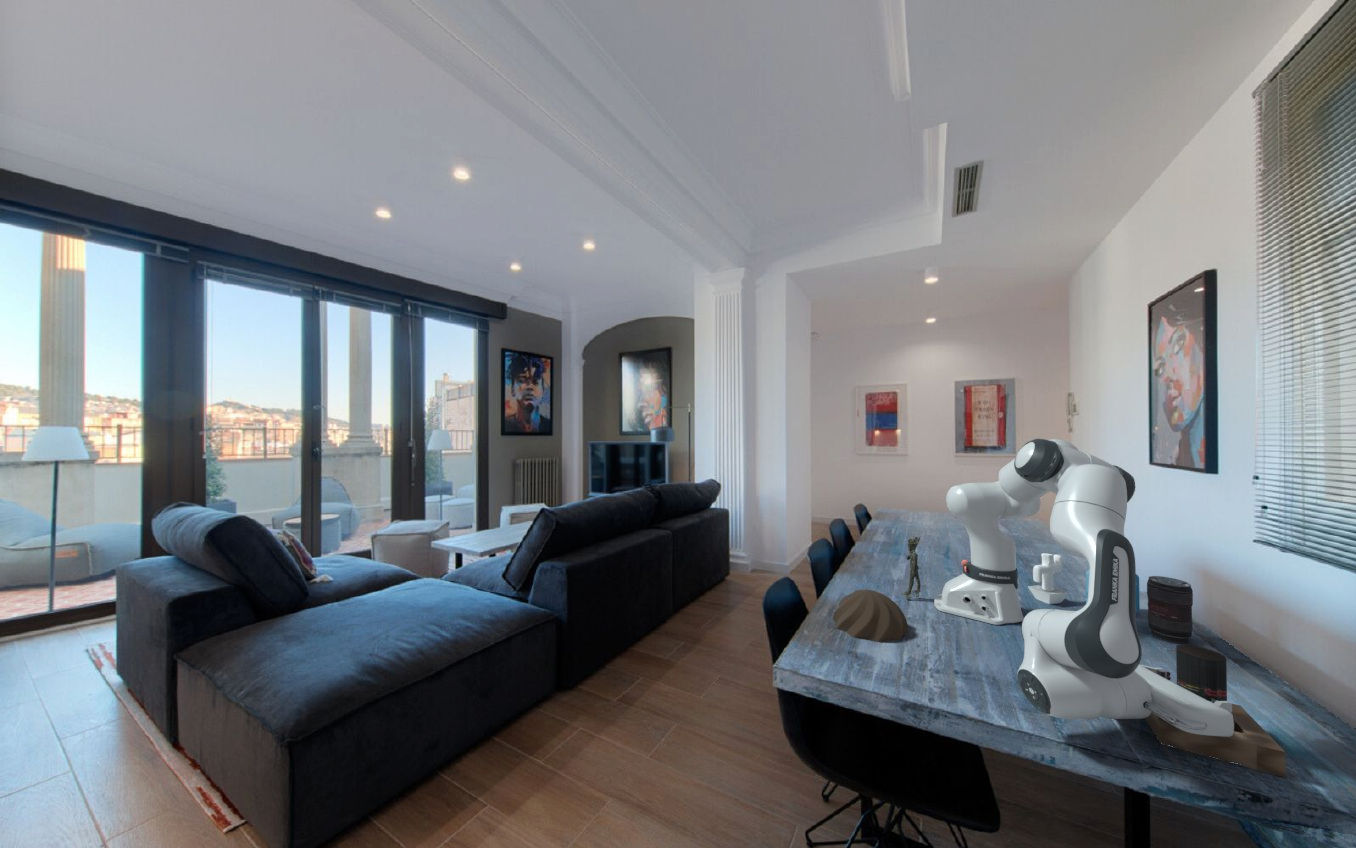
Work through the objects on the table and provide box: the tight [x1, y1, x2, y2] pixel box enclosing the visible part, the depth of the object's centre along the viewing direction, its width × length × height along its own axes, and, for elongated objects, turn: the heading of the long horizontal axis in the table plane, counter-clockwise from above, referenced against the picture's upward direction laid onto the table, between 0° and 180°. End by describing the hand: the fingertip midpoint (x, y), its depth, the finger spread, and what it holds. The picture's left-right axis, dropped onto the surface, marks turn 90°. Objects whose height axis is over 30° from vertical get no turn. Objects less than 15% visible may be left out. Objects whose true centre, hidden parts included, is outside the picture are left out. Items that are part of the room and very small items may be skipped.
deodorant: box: [1175, 643, 1228, 702], centre depth 81 cm, size 6×6×15 cm
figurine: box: [1027, 552, 1070, 605], centre depth 142 cm, size 7×9×15 cm
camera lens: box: [1146, 575, 1194, 645], centre depth 117 cm, size 8×8×15 cm
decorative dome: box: [832, 589, 909, 643], centre depth 127 cm, size 19×20×10 cm
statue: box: [901, 536, 921, 601], centre depth 146 cm, size 5×6×20 cm
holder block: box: [1144, 702, 1287, 778], centre depth 81 cm, size 14×14×4 cm
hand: (1195, 689), depth 81 cm, fingers open, 8 cm apart
